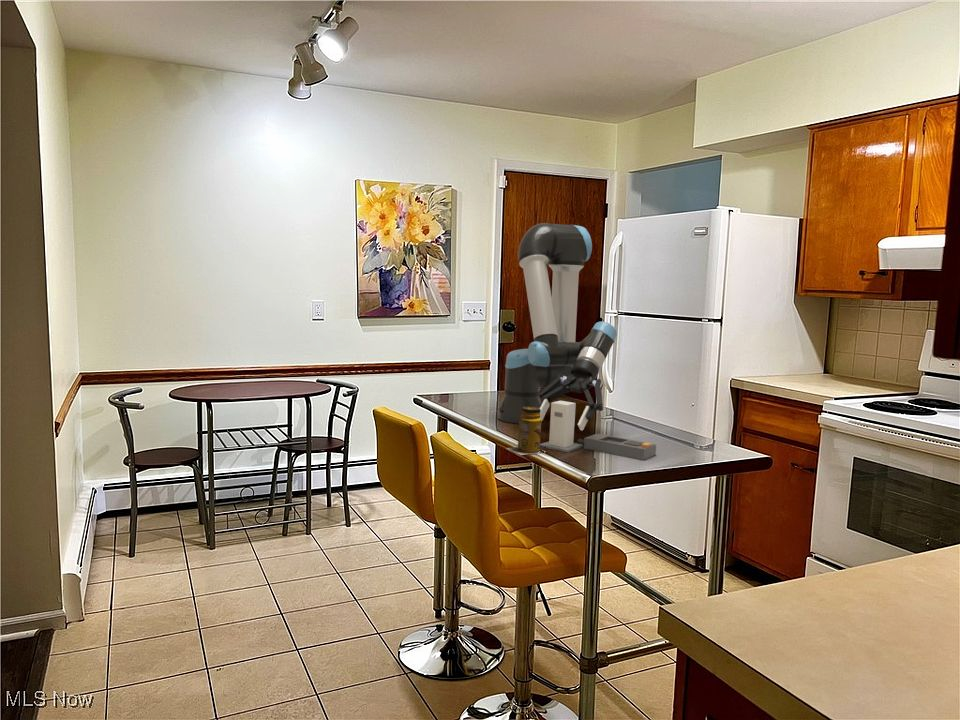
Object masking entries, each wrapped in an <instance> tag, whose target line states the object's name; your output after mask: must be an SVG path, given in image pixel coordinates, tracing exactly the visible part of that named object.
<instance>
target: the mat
mask: <svg viewBox="0 0 960 720" xmlns="http://www.w3.org/2000/svg"><path fill="white" fill-rule="evenodd" d="M540 446H542V447H541V448H544V447H546V449H550V450H554V451H559V452H563V453H570V452H572V451H574V450H575V451H576V450H578V449H580V448H584V444H580V443H578V442H573V445H571V446H568V447H565V448H564V447H559V446H554V445H549V441H546V442H542V443H540Z"/></svg>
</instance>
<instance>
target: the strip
mask: <svg viewBox="0 0 960 720" xmlns="http://www.w3.org/2000/svg"><path fill="white" fill-rule="evenodd" d="M576 443H577V444H582V445H583V449H586V450H591V451H597V452H601V453H606V454H611V455H614V456H619V457H625V458H631V459H634V460H641V461H646V460H647V459H650V458H651V457H654V456H656V454H657V453H656V451H657V444H655V443H651V442H646V441H640V440H634V439H629V438H624V437H618V436H612V435H608V434H602V433H595V434H592V435H590V436H586V437H584V439H581V438H578V439H577V441H576Z"/></svg>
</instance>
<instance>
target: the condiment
mask: <svg viewBox="0 0 960 720" xmlns="http://www.w3.org/2000/svg"><path fill="white" fill-rule="evenodd" d="M541 433H542V422H541V418H540V408H537V407H522V409H521V417H520V418H519V424H518V435H517V436H518V438H517V439H518V440H517V446H515V447H506V448H505V449H506V450H508V451H509V452H512V453H514V454H517V455H520V456H524V455H525V456H526V455H532V454H533V455H534V454H539V453H538V452H539V450H541V449H540V448H541V447H540V444H541ZM543 451H544V453H546V451H545V450H543Z"/></svg>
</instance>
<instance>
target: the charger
mask: <svg viewBox="0 0 960 720" xmlns="http://www.w3.org/2000/svg"><path fill="white" fill-rule="evenodd" d="M576 404H577V403H576V402H571V401H566V400H557V401H551V402H550V421H549V436H548V437H549V440H548V442H549V445H554V446H559V447H564V448H565V447H568V446H571V445H573V443H574V439H575V438H574V437H575V423H576V422H575V421H576V420H575V419H576V406H577V405H576Z"/></svg>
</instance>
